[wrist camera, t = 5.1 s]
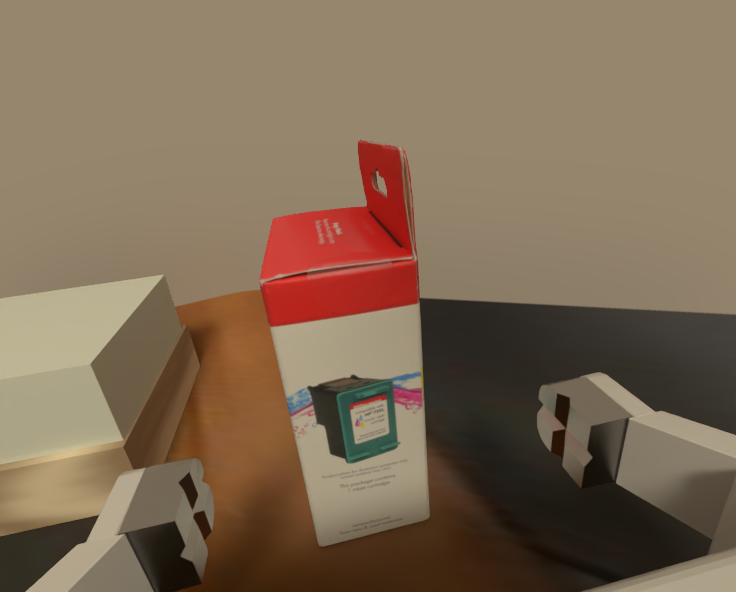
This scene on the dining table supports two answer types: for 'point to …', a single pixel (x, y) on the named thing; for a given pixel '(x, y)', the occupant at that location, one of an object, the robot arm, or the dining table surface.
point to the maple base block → (99, 455)
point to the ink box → (353, 352)
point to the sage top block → (80, 363)
